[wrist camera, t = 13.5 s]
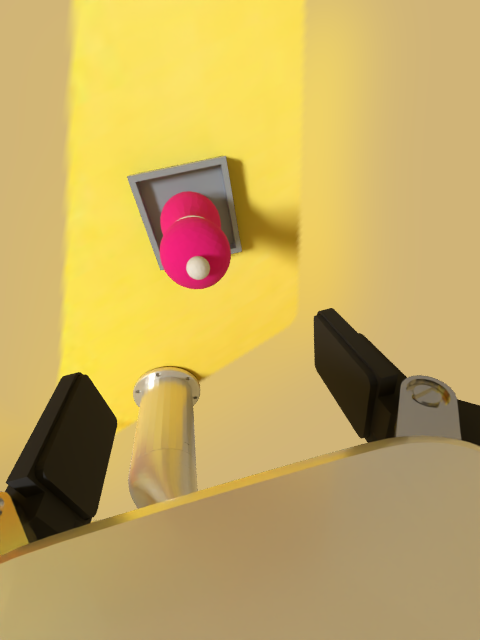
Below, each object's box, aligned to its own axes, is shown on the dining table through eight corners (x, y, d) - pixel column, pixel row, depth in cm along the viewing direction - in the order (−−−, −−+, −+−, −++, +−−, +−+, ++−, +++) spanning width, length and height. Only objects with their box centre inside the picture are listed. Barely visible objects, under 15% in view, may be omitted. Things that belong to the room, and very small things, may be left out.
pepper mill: (155, 231, 36) (134, 298, 20) (172, 176, 33) (165, 201, 17) (205, 251, 39) (223, 325, 22) (225, 202, 36) (263, 245, 19)
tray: (238, 246, 40) (241, 251, 38) (161, 264, 40) (160, 270, 37) (223, 156, 34) (225, 156, 32) (130, 175, 33) (127, 176, 31)
